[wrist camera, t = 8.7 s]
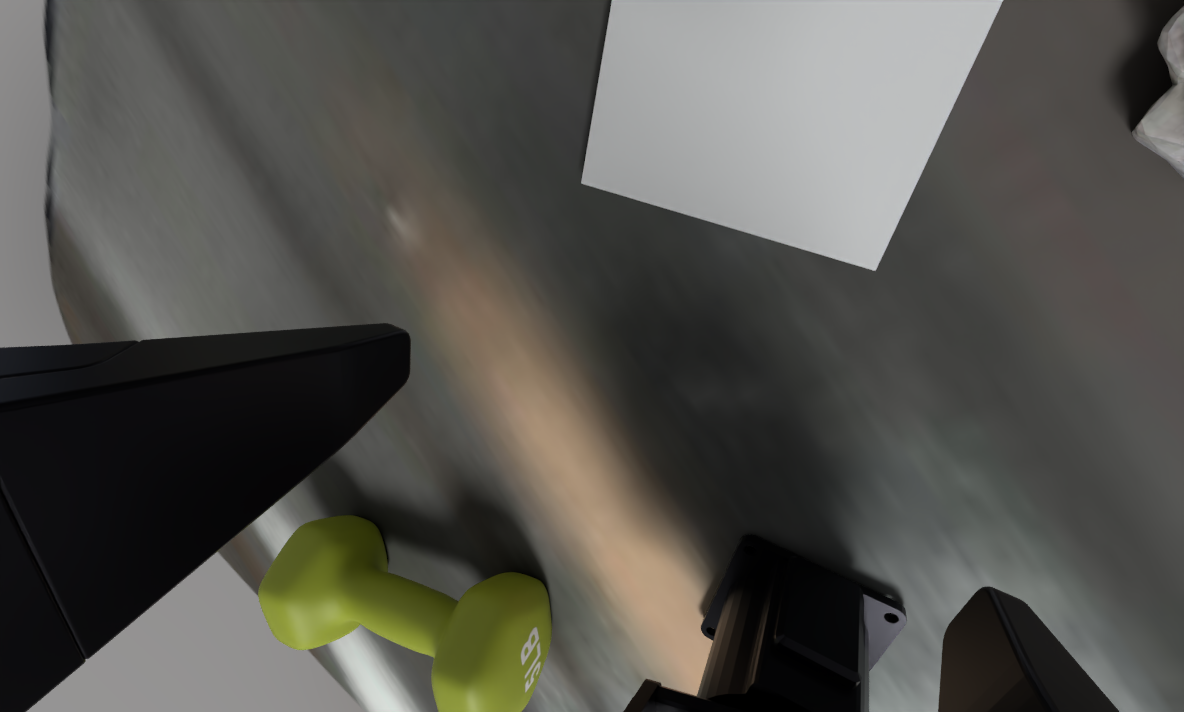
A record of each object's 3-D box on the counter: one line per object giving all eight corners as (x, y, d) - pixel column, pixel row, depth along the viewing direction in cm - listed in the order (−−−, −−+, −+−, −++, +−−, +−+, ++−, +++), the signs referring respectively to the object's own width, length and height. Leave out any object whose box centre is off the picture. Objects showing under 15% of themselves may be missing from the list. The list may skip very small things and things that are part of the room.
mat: (874, 265, 17) (875, 270, 16) (588, 181, 19) (580, 183, 19) (1077, -165, 12) (1086, -178, 11) (653, -191, 15) (645, -201, 14)
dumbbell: (559, 556, 28) (477, 674, 23) (567, 659, 32) (498, 786, 26) (338, 483, 35) (231, 559, 29) (364, 574, 38) (272, 660, 32)
